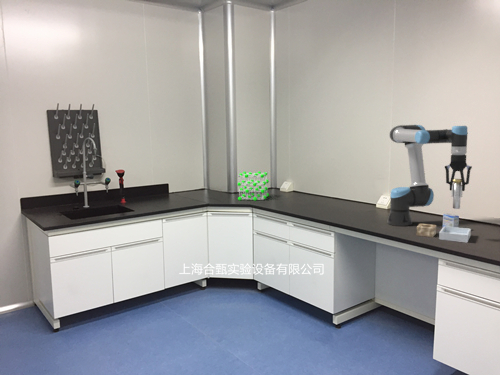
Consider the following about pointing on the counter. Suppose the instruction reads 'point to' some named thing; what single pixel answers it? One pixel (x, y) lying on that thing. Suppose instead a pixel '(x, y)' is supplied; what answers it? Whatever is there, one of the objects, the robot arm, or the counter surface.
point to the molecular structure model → (254, 183)
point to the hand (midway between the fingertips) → (456, 196)
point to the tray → (455, 234)
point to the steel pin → (456, 193)
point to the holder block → (426, 230)
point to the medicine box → (450, 220)
